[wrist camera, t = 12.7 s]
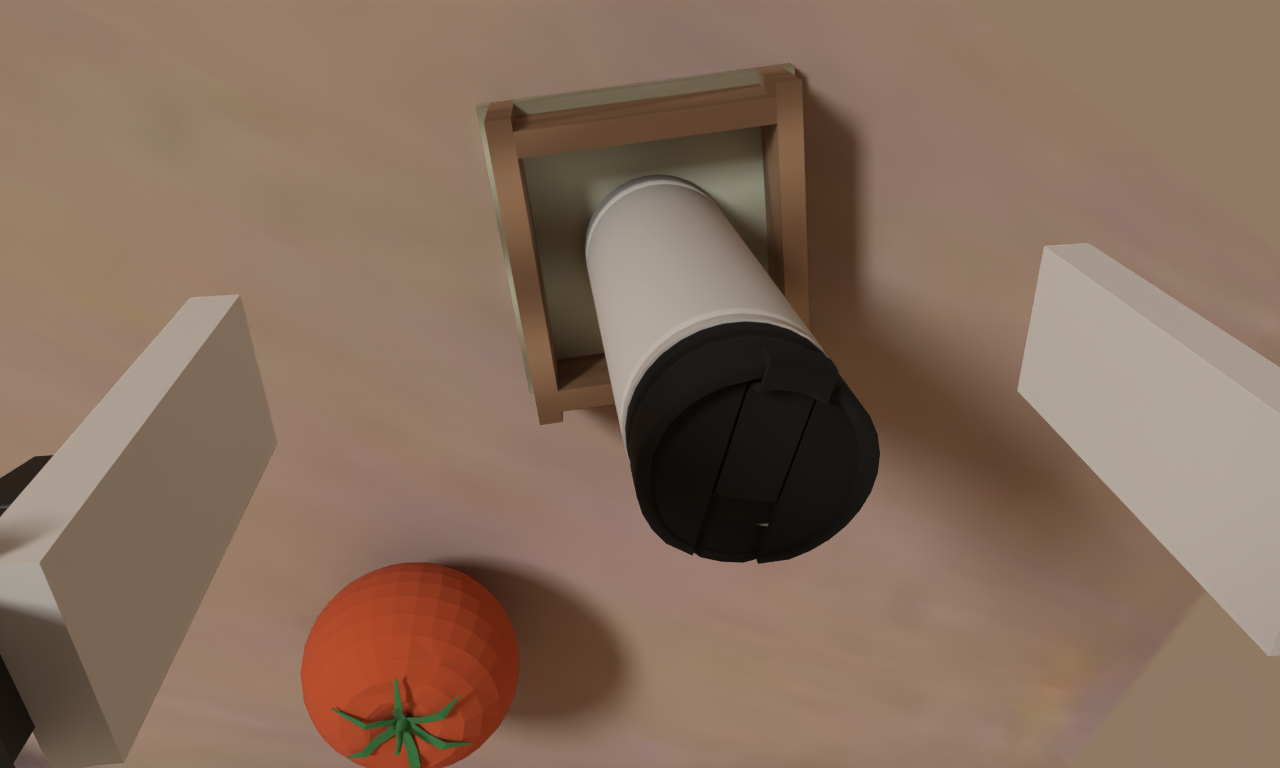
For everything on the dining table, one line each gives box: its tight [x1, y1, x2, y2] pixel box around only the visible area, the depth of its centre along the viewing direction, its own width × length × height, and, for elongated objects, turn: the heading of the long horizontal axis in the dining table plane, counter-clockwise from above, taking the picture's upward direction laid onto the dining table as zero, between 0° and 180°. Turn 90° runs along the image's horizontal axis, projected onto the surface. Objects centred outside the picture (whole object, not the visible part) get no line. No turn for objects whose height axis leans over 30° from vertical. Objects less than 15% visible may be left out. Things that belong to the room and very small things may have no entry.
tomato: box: [301, 563, 519, 768], centre depth 45 cm, size 10×10×10 cm
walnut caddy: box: [476, 63, 810, 425], centre depth 39 cm, size 13×13×4 cm
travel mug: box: [584, 174, 880, 564], centre depth 31 cm, size 6×7×20 cm
